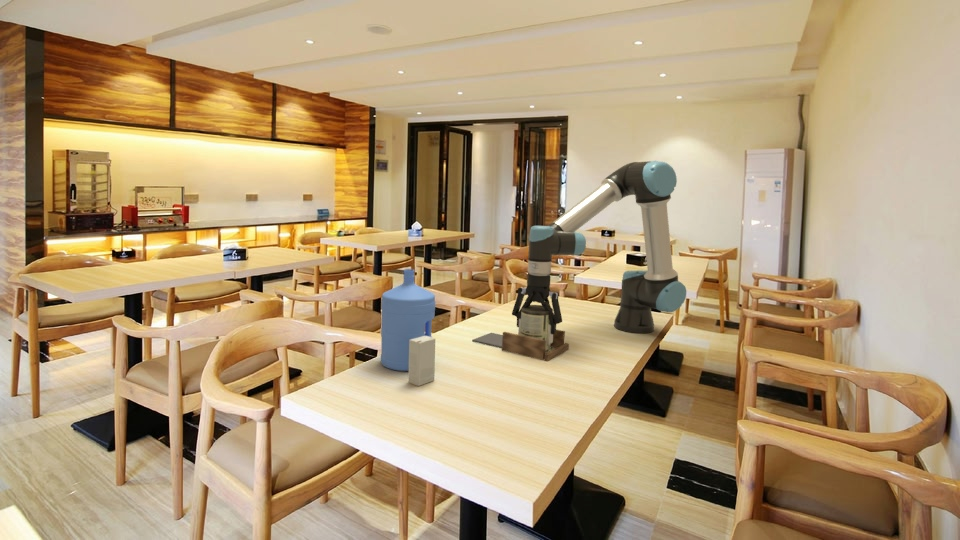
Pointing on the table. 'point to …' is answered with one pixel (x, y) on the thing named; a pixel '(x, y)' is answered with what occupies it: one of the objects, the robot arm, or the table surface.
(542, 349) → the holder
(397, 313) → the water jug
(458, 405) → the table surface
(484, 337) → the mat
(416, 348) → the skincare box
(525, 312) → the coffee can
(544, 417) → the table surface
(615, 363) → the table surface
